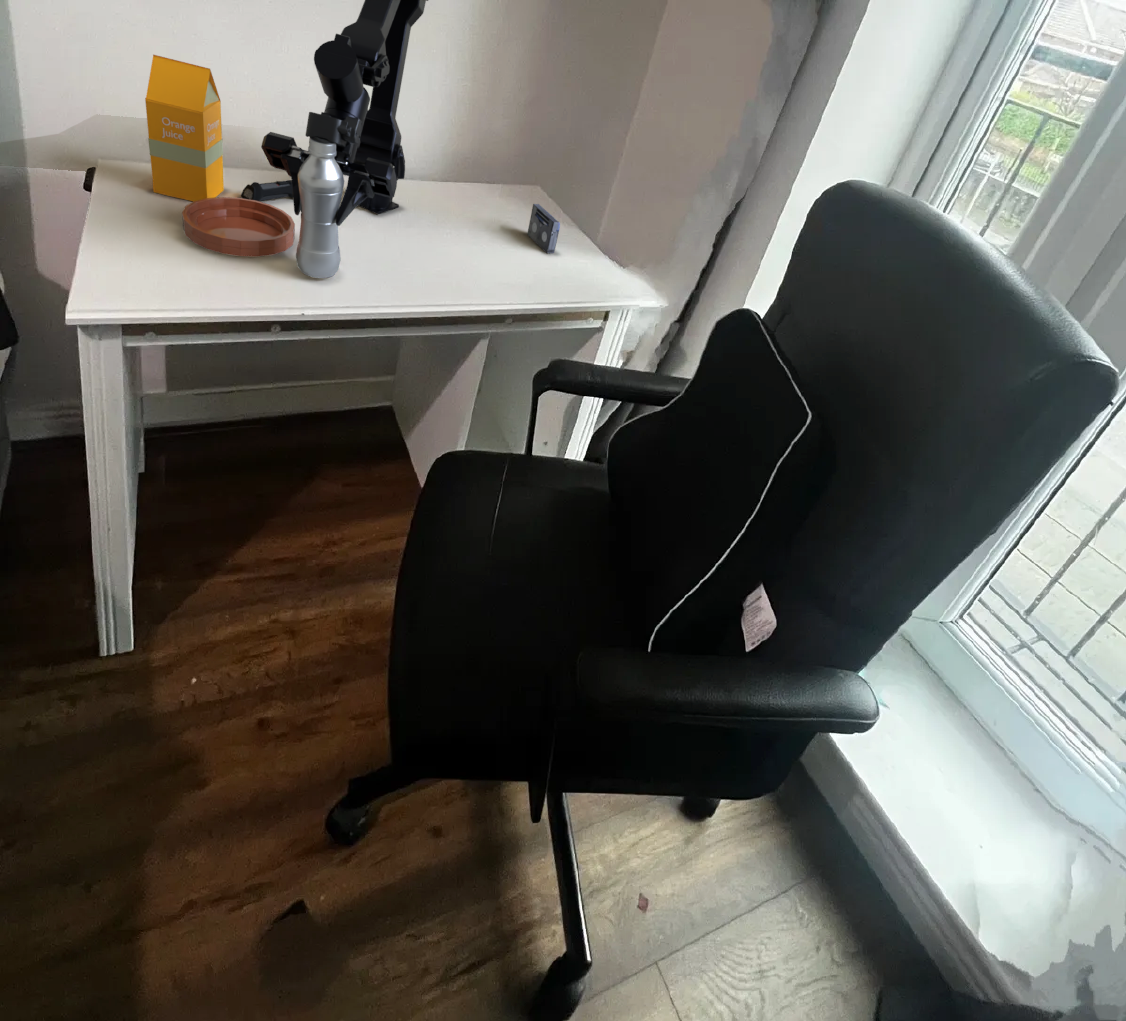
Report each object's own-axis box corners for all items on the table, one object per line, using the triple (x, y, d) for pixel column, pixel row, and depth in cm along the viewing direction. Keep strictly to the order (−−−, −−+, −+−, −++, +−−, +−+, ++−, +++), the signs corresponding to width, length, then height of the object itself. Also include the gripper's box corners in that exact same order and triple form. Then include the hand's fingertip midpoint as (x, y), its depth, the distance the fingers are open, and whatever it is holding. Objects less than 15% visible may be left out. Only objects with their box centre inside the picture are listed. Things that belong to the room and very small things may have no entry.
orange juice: (207, 205, 135) (201, 74, 123) (152, 192, 134) (140, 59, 122) (224, 189, 141) (220, 63, 129) (172, 177, 140) (162, 49, 128)
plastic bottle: (347, 274, 128) (356, 142, 115) (323, 288, 123) (329, 151, 110) (312, 259, 129) (316, 127, 116) (286, 273, 124) (288, 136, 111)
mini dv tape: (554, 253, 153) (561, 222, 149) (547, 253, 152) (554, 222, 148) (533, 234, 158) (540, 203, 154) (527, 234, 157) (533, 203, 153)
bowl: (239, 207, 137) (239, 189, 136) (315, 243, 134) (316, 225, 132) (159, 229, 125) (158, 209, 123) (240, 269, 121) (240, 250, 120)
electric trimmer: (328, 198, 149) (329, 180, 147) (252, 206, 139) (252, 188, 137) (315, 190, 151) (316, 172, 149) (239, 198, 140) (239, 179, 138)
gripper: (265, 69, 112) (235, 175, 110) (400, 105, 113) (372, 210, 112) (285, 116, 123) (258, 212, 121) (407, 148, 125) (382, 244, 123)
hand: (316, 219), depth 119 cm, fingers closed on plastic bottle, 6 cm apart
